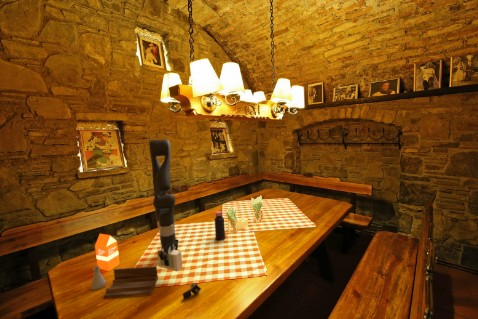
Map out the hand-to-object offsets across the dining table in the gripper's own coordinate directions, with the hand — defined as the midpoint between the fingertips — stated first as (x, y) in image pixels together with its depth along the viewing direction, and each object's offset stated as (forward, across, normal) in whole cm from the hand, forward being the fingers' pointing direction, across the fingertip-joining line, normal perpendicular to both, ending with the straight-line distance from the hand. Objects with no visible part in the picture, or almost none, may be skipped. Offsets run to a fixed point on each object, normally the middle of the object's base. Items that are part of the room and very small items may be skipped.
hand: (170, 262), depth 120 cm
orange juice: (+11, -2, +45) cm, 47 cm away
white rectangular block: (+2, 0, 0) cm, 2 cm away
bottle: (+11, +50, -3) cm, 51 cm away
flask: (+10, -16, +34) cm, 39 cm away
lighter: (+10, -6, -18) cm, 21 cm away
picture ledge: (+10, -12, +15) cm, 22 cm away
